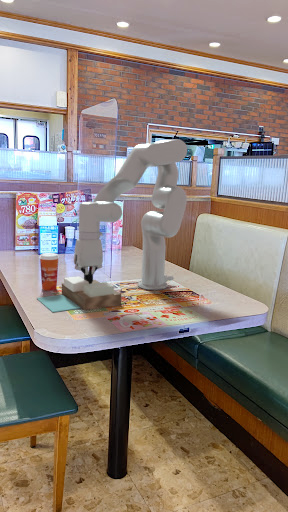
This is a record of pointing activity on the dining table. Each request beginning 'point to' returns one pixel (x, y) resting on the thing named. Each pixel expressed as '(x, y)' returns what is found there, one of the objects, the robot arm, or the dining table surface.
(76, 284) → the white rectangular block
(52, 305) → the mat
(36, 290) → the dining table surface
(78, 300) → the riser
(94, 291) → the pale green block
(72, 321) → the dining table surface
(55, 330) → the dining table surface
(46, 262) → the paper cup
